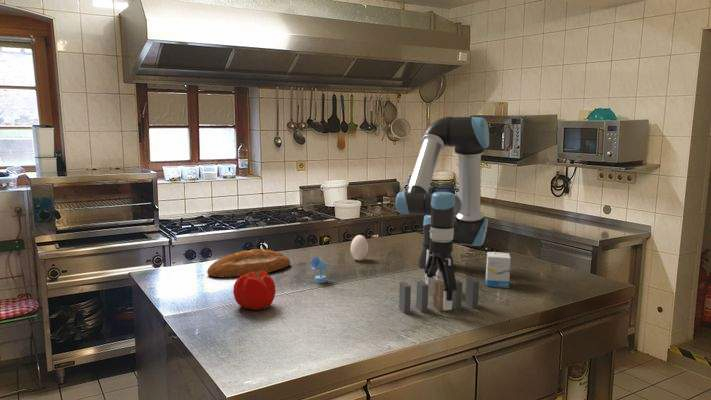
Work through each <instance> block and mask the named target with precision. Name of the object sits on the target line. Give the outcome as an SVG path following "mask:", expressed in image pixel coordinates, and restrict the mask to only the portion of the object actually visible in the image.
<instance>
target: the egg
mask: <svg viewBox="0 0 711 400" xmlns="http://www.w3.org/2000/svg"><path fill="white" fill-rule="evenodd" d="M350 254H351V256H352V257H353V258H354V259H355V260H357V261H363V260H365V258H367V256H368V254H369V243H368V241H367V239H366V237H365V236H363V235H361V234H358V235H356V236H354V238H353V239H352V240H351V243H350Z"/></svg>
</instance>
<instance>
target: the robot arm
mask: <svg viewBox="0 0 711 400" xmlns="http://www.w3.org/2000/svg"><path fill="white" fill-rule="evenodd" d="M419 145H420V148H419V151H418V155H417V158H416V160H415V163H414V167H413V169H412V172H411V175H410V178H409V181H408V184H407V187H406V190H405V191H399V192H398V193H397V194H396V198H395V208H396V211H397V212H398V213H400V214H406V215H421V216H424V217H423V223H422V227H423V228H422V249H421V251H420V254H419V255H418V256H419V257H418V259H417V265H418V266H419V267H420V268H423V269H424V274H425V275H426V273H427V285H428V297H433V292H434V280H436V278H435V277H433V276H435V275H436V272H437V270H438V268H439V271H440V272H441V274H442V278H443V282H444V286H445V289H444V300H443V310H445V311H451V310H452V309H453V307H452V297H453V290H457V287H456V281H455V279H456V275H455V269H454V259H453V256H452V253H453V251H454V249H453V247H454V245H463V246H470V247H473V246H475V247H481V246H482V245H483V244H484V242H485V240H486V235H487V232H488V231H487V230H488V225H489V219H488V218H486V217H485V213H484V212H483V211H482V210H481V182H482V181H481V176H482V175H481V169H482V167H481V165H482V164H481V163H482V161H481V159H482V158H481V157H482V155H483V154H484V153H485V151H486V149H487V148H488V147H489V146H490V130H489V124H488V121H487V120H486V118H484V117H483V116H482V117H479V116H443V117H441V118H438V119H436V120H434V121H433V122H432V123H431V124H430V125H429V126H428V127H427V128H426V129H425V130H424V132H423V133H422V135H421V138H420V141H419ZM446 147H450V148H451V147H452V148H454V153H455V154H456V155H457V156H458V195H457V194H455V193H453V192H450V191H435V192H433V193H428V192H429V189H430V186H431V183H432V179H433V177H434V173H435V169H436V166H437V163H438V159H439V157H440V153H441V152H443V151H444V149H445V148H446ZM427 249H428V250H429V257H428V260H427V264H426V255H427ZM428 269H429V270H428Z"/></svg>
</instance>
